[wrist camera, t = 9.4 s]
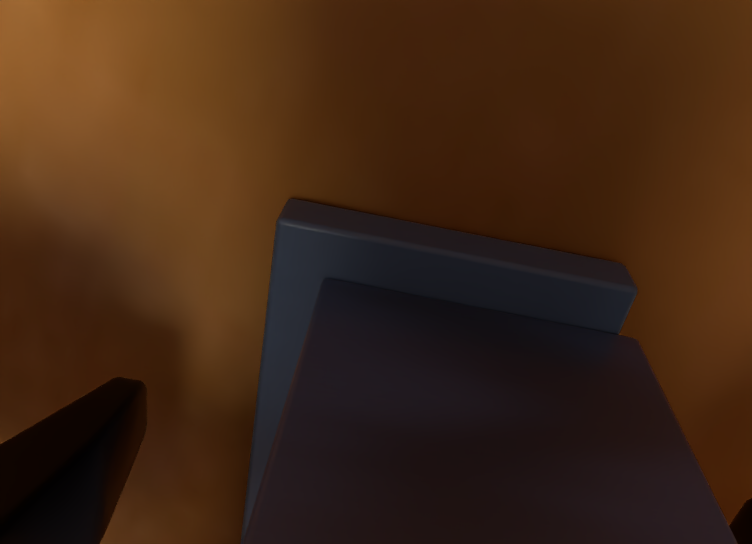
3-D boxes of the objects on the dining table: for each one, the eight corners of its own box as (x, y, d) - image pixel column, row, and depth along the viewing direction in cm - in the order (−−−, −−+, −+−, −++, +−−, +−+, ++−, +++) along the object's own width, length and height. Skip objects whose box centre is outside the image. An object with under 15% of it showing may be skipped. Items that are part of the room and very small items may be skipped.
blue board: (625, 261, 9) (641, 289, 9) (460, 649, 14) (461, 687, 13) (287, 194, 9) (275, 217, 8) (238, 608, 14) (228, 644, 13)
